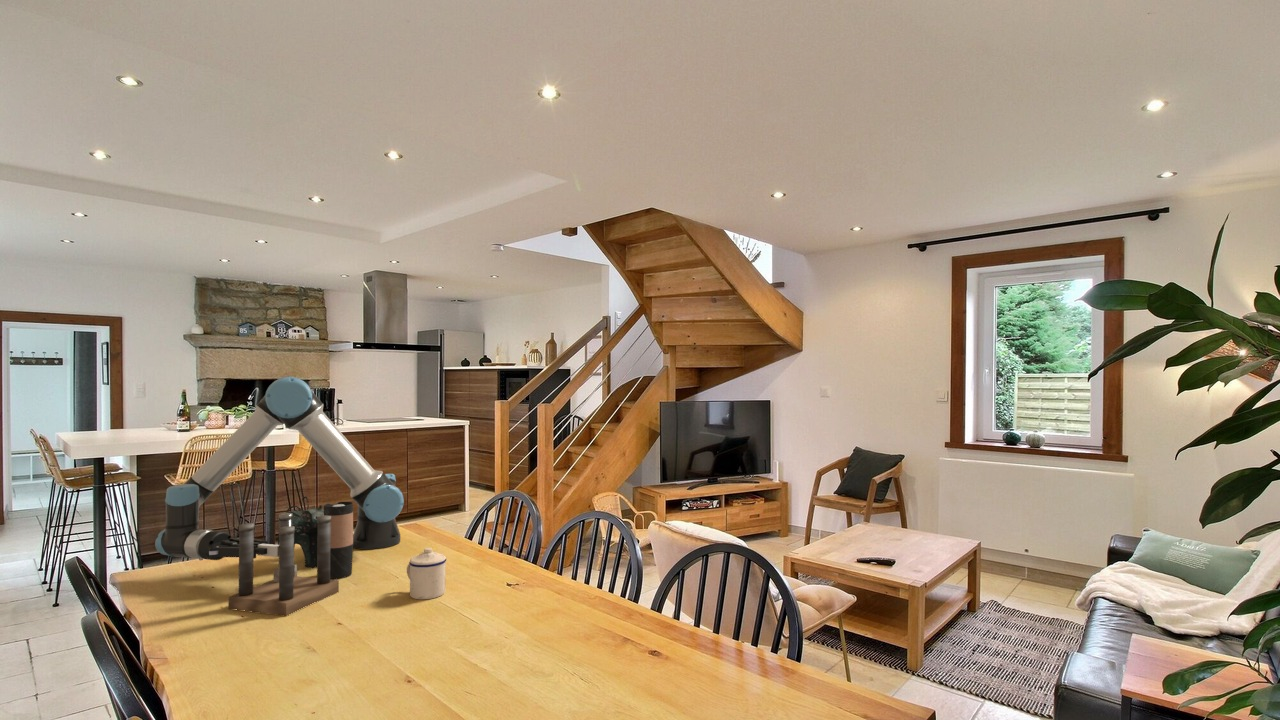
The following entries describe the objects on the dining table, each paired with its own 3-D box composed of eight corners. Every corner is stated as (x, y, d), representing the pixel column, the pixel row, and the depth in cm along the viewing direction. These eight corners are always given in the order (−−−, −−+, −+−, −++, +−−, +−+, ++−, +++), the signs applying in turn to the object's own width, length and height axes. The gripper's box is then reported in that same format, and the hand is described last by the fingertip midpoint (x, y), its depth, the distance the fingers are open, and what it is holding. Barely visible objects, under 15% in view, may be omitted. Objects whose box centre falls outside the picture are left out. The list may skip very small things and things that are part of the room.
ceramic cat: (329, 565, 187) (329, 497, 187) (307, 571, 182) (308, 501, 182) (291, 555, 198) (292, 491, 198) (270, 560, 192) (271, 494, 193)
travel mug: (344, 580, 174) (345, 506, 174) (317, 579, 174) (317, 506, 174) (357, 571, 181) (358, 501, 182) (331, 571, 181) (332, 501, 182)
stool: (338, 591, 164) (339, 515, 165) (286, 616, 148) (287, 530, 148) (285, 586, 169) (286, 511, 169) (228, 609, 152) (229, 526, 153)
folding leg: (295, 570, 167) (295, 513, 167) (285, 574, 164) (286, 515, 164) (285, 569, 168) (285, 512, 168) (275, 573, 164) (276, 515, 165)
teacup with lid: (453, 591, 164) (454, 546, 164) (426, 602, 156) (426, 555, 156) (421, 584, 170) (421, 540, 170) (393, 594, 162) (393, 548, 162)
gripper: (230, 552, 178) (299, 558, 172) (186, 565, 166) (258, 573, 160) (230, 525, 179) (299, 530, 172) (186, 537, 166) (258, 543, 160)
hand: (279, 551), depth 166 cm, fingers closed
